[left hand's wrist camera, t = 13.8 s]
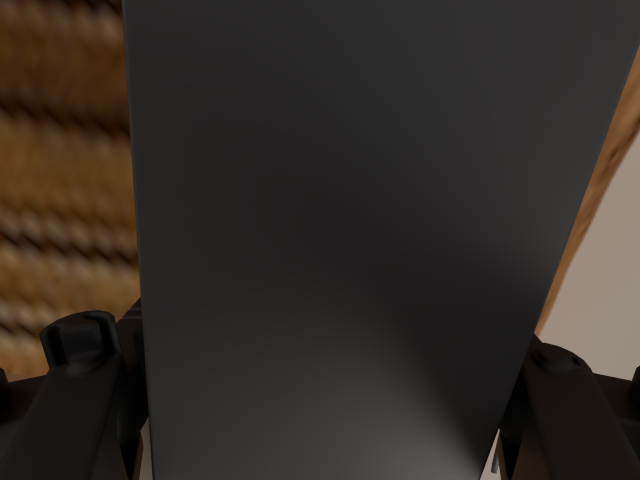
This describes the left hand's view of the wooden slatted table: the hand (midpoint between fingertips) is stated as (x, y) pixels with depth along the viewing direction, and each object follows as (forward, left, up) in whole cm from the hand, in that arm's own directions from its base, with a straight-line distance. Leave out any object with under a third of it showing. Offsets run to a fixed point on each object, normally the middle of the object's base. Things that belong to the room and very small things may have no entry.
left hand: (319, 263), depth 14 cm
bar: (0, +10, -1) cm, 10 cm away
